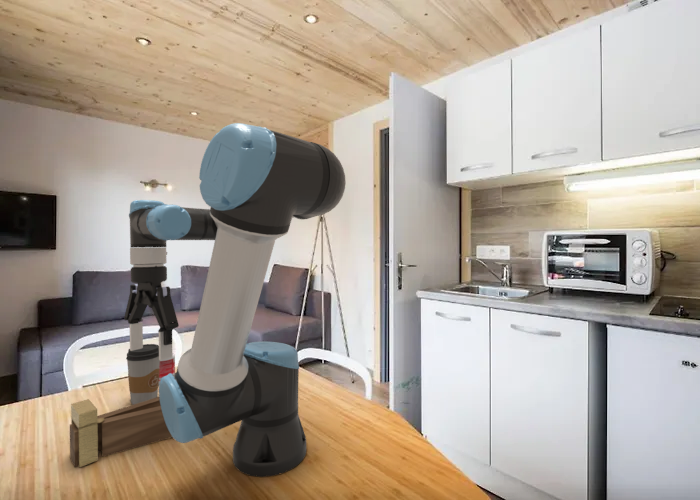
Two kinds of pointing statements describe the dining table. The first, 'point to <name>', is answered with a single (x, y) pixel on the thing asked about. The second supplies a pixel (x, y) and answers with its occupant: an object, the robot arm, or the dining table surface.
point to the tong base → (101, 418)
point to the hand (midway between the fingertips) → (150, 353)
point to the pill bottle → (167, 367)
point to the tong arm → (133, 430)
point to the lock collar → (86, 430)
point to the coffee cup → (143, 373)
